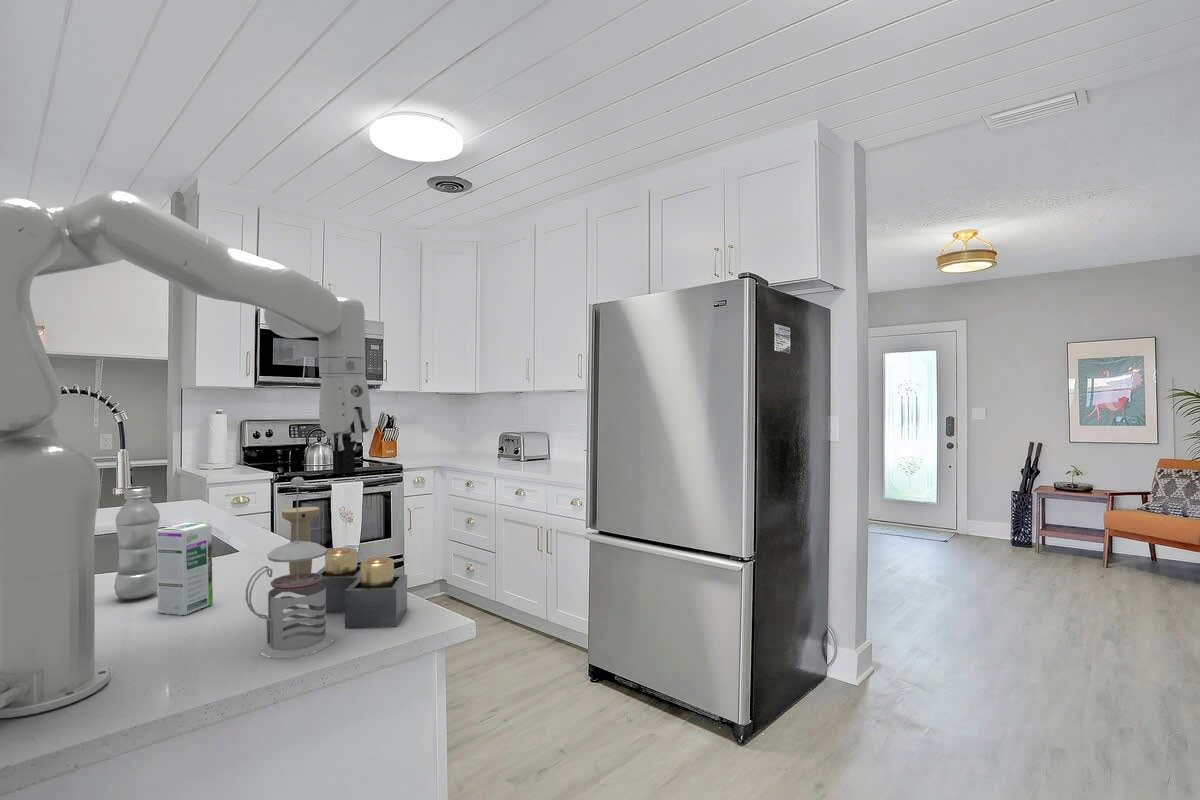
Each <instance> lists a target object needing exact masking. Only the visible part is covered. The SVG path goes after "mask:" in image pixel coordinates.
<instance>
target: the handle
mask: <svg viewBox="0 0 1200 800" xmlns="http://www.w3.org/2000/svg"><path fill="white" fill-rule="evenodd" d="M318 516H320V508H319V507H318V506H303V507H301V506H299V507H298V540H299V541H307V542H312V533H311V530H312V529H311V523H312V520H313V519H314V518H317V517H318ZM281 517H282V518H283V519H284V520H286V521H288V522H290V527H291V528H290V541H289V543H290V542H295V541H297V507H292V508H286V509H282V510H281ZM288 567H289V568H288V570H289V574H291V575H293V574H297V562H288ZM312 568H313V559H310V560H306V561H298V574H299V573H300V574H301V573H310V572H311V573H312V570H313V569H312Z"/></svg>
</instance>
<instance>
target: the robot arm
mask: <svg viewBox="0 0 1200 800" xmlns="http://www.w3.org/2000/svg"><path fill="white" fill-rule="evenodd" d="M122 260H123V261H125V262H127V263H131V264H133V265H134V266H137V267H139V268H141V269H143V270H145V271H148V272H149V273H151V274H153V275H156V276H158V277H160V278H161V279H164V280H166V281H168V282H170V283H172V284H175V285H177V286H179V287H180V288H182V289H185V290H186V291H189V292H191V293H194V294H195V295H198V296H201V297H206V298H209V299H212V300H219V301H226V302H236V303H242V304H247V305H249V306H250V305H251V306H253V307H258V308H261V309H263V310H264V312H263V317H264V321H265V324H266V325H267V327H268V329H270V331H272V332H273V333H274V334H276V335H278V336H280V337H283V338H287V339H301V338H318V371H319V372H318V373H319V375H318V376H319V378H321V381H320V388H319V389H320V391H319V406H318V407H319V409H318V411H319V412H318V413H319V415H318V416H319V418H318V419H319V427H320V429H321V430H322V431H324V432H325V437H326V438H327V439H328V440H330V447H331V451H332V473H334V474H338V475H341V474H349V473H354V472H355V471H356V460H355V459H356V456H355V455H356V454H355V452H356V451H355V450H356V449H357V442H360V441H362V440H363V433H368V432H370V430H371V428H372V415H371V400H370V391H369V386H368V385H369V384H368V380H367V376H366V336H365V335H366V334H365V333H366V327H365V326H366V325H365V321H366V319H365V305H364V304H363V302H362V301H361V300H359V299H357V298H350V297H343V296H341V297H339V296H335V294H333V293H332V291H330V289H328V288H326V287H325V286H323V285H322V284H320V283H318V282H316V281H314V280H312V279H311V278H310V277H308V276H305V275H304V274H303V273H301V272H299V271H296V270H294V269H292V268H290V267H288V266H286V265H283V264H281V263H278V262H276V261H274V260H270V259H267V258H264V257H261V256H258V255H256V254H253V253H251V252H248V251H245V250H242V249H239V248H236V247H233V246H230V245H228V244H226V243H224V242H222V241H221V240H218V239H216V238H215V237H213V236H212V235H209V234H207V233H206V232H204V231H202V230H200V229H198V228H197V227H195V226H193V225H191V224H190V223H187V222H186V221H184V220H182V219H181V218H178V217H177V216H175V215H173V214H171V213H169V212H167V211H166V210H164V209H162V208H160V207H159V206H157V205H155V204H153V203H152V202H150V201H148V200H146V199H144V198H142V197H141V196H138V195H137V194H134V193H131V192H128V191H124V190H107V191H103V192H99V193H97V194H95V195H93V196H90V197H89V198H87V199H86V200H84V201H82V202H78V203H73V204H68V205H62V206H55V207H54V206H53V207H44V206H42V204H39V203H37V202H35V201H33V200H30V199H26V198H22V197H15V196H14V197H12V196H6V197H0V719H9V718H10V719H11V718H19V717H24V716H30V715H37V714H40V713H44V712H48V711H51V710H55V709H58V708H62V707H64V706H68V705H70V704H73V703H76V702H78V701H79V700H83V699H86V698H87V697H89V696H91V695H93V694H94V693H96V692H99V690H100V689H102V688H103V687H104V686H106V684H108V683H109V681H110V680H111V678H110V677H111V670H110V667H109V666H107V665H106V664H103V663H98V662H95V643H96V642H95V635H96V634H95V626H96V625H95V616H96V615H95V610H96V609H95V597H96V596H95V594H96V593H95V589H96V588H95V584H96V583H95V577H96V576H95V575H96V574H95V533H96V531H95V528H96V518H97V511H98V504H99V499H100V492H101V491H100V490H101V479H100V471H99V468H98V465H97V462H96V461H95V460H94V458H93V457H92V456H91V455H90V453H89V452H88V451H87V450H86V449H84V448H83V447H81V446H80V445H78V444H76V443H74V442H72V441H69V440H65V439H61V437H60V434H59V432H58V429H57V426H56V424H55V421H54V419H53V416H54V415H55V414H56V413H57V411H58V410H59V408H60V405H61V402H62V389H61V386H60V382H59V379H58V376H57V375H56V373H55V371H54V369H53V368H54V367H53V366H52V364H51V361H50V358H49V357H48V354H47V350H46V348H45V346H44V343H43V340H42V338H41V335H40V333H39V331H38V327H37V323H36V321H35V320H36V319H35V316H34V313H33V309H32V304H31V296H30V295H31V294H30V293H31V285H32V284H33V280H34V278H36V277H42V276H48V275H54V274H60V273H61V274H62V273H65V272H72V271H78V270H84V269H89V268H94V267H98V266H103V265H107V264H111V263H117V262H121V261H122Z"/></svg>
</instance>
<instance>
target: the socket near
mask: <svg viewBox="0 0 1200 800" xmlns="http://www.w3.org/2000/svg"><path fill="white" fill-rule="evenodd" d="M407 610H408V575H407V574H394V585H393V586H392V588H361V576H359V577H358V578H357V579H356V580H355V581H354V582H353V583H352V584H351V585H350V586H349V587H348V588H347V589H346V590H345V613H344V629H362V628H364V627H370V628H396V627H398V625H399V623H400V622H401V620H402V618H403V616H404V615H405V613H406V612H407Z"/></svg>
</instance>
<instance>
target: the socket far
mask: <svg viewBox="0 0 1200 800" xmlns="http://www.w3.org/2000/svg"><path fill="white" fill-rule="evenodd" d="M316 573H318V574H321V575H323V577H324V579H323V580H322V581H321V582H320V583H322V584H324V585H325V586H326V614H345V590H346V589H347V588H348V587H349V586H350V585H351V584H352V583H353V582H354V581H355V580H356V579H357V578H358V577H359V576H361V564H357V573H356V574H355V575H354V576H329V577H325V565H324V566H323V567H322V568H321V569H319V570H318V571H317V572H316ZM312 608H316V606H313V605H308V609H312Z"/></svg>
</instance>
